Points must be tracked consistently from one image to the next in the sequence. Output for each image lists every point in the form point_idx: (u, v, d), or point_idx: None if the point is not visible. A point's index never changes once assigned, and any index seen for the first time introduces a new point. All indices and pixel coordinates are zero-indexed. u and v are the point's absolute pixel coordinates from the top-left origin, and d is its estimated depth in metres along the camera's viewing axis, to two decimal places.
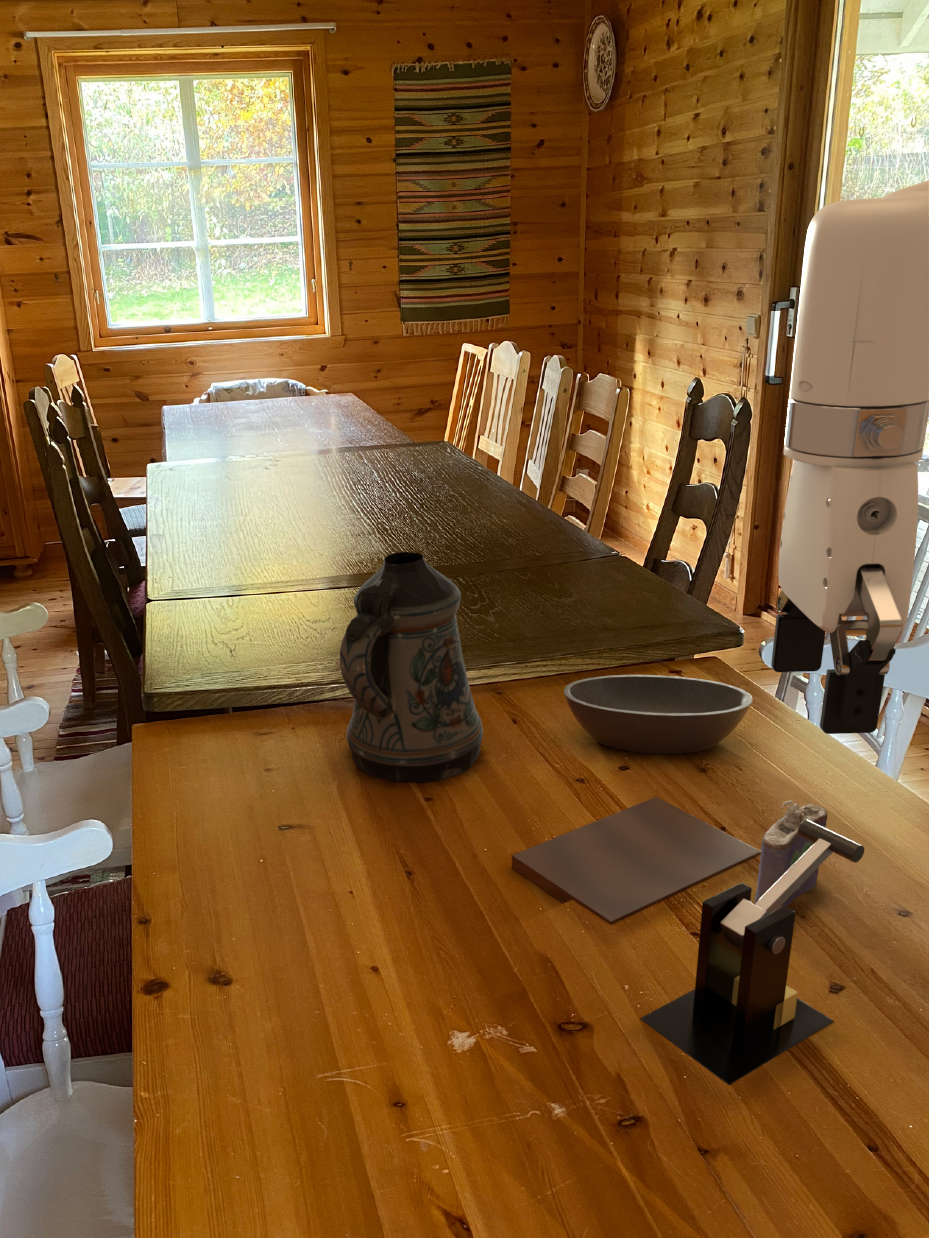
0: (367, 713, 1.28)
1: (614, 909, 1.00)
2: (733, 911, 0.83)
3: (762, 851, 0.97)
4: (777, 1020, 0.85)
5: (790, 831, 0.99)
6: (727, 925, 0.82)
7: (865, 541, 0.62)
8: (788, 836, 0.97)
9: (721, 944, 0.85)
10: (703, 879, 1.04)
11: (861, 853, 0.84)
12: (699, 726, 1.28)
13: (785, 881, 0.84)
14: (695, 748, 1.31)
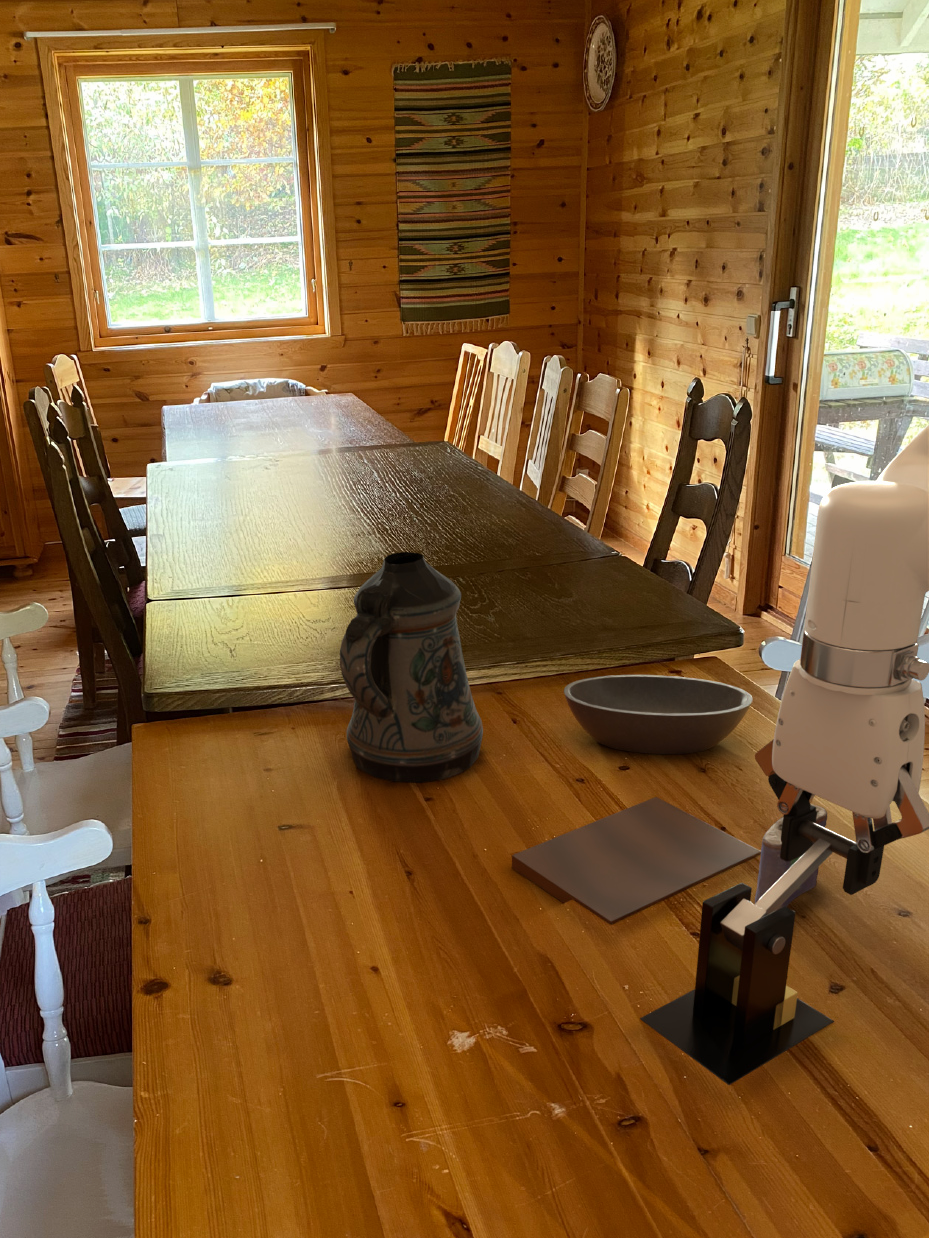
0: (367, 713, 1.28)
1: (614, 909, 1.00)
2: (733, 911, 0.83)
3: (762, 851, 0.97)
4: (777, 1020, 0.85)
5: None
6: (727, 925, 0.82)
7: (903, 748, 0.78)
8: None
9: (721, 944, 0.85)
10: (703, 879, 1.04)
11: None
12: (699, 726, 1.28)
13: (785, 881, 0.84)
14: (695, 748, 1.31)
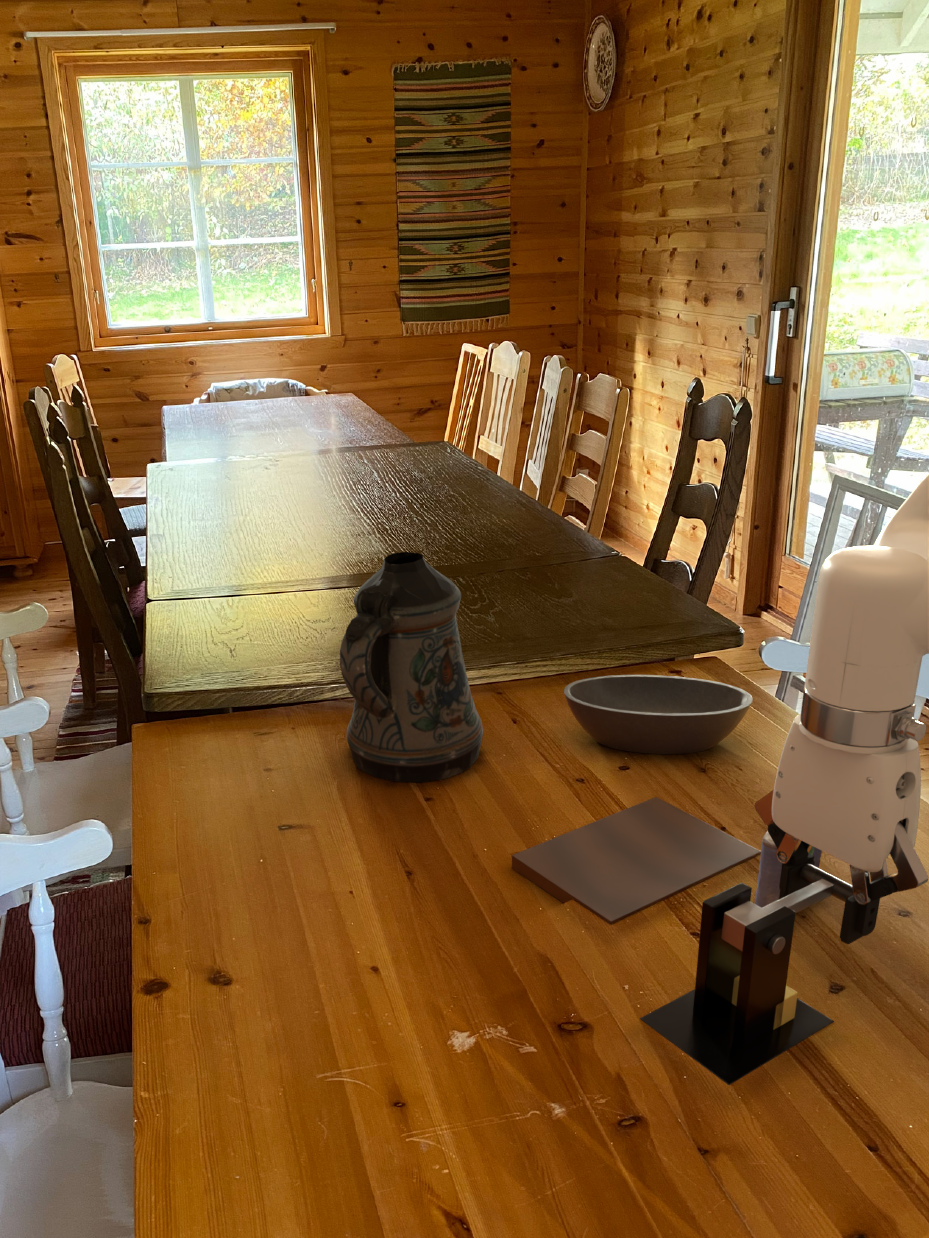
0: (367, 713, 1.28)
1: (614, 909, 1.00)
2: (738, 907, 0.83)
3: (762, 851, 0.97)
4: (777, 1020, 0.85)
5: None
6: (732, 916, 0.82)
7: (900, 805, 0.80)
8: None
9: (721, 944, 0.85)
10: (703, 879, 1.04)
11: None
12: (699, 726, 1.28)
13: (788, 900, 0.85)
14: (695, 748, 1.31)
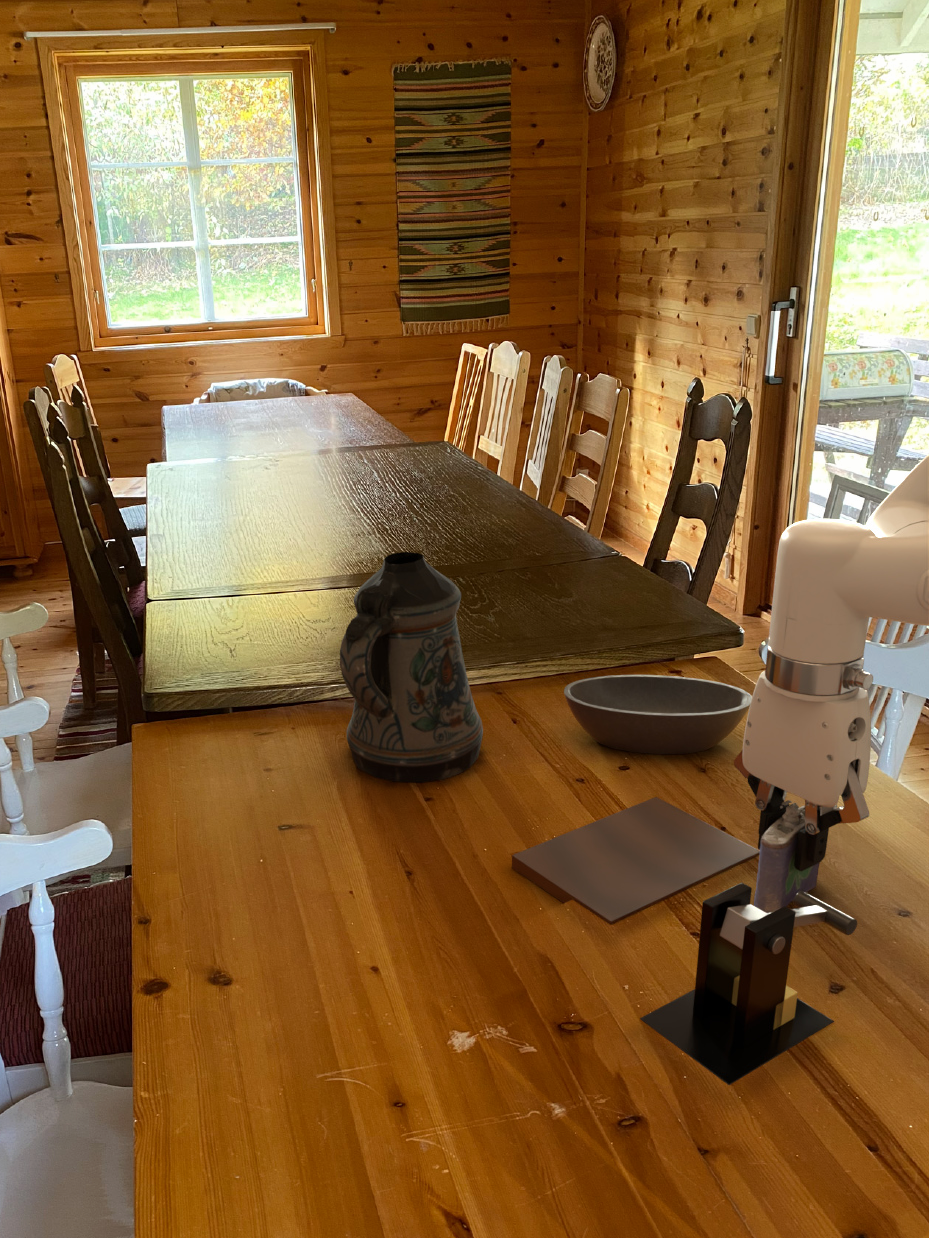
0: (367, 713, 1.28)
1: (614, 909, 1.00)
2: (741, 906, 0.83)
3: (761, 851, 0.97)
4: (777, 1020, 0.85)
5: (789, 831, 0.99)
6: (735, 911, 0.82)
7: (852, 747, 0.91)
8: (787, 836, 0.97)
9: (721, 944, 0.85)
10: (703, 879, 1.04)
11: (853, 929, 0.87)
12: (699, 726, 1.28)
13: None
14: (695, 748, 1.31)
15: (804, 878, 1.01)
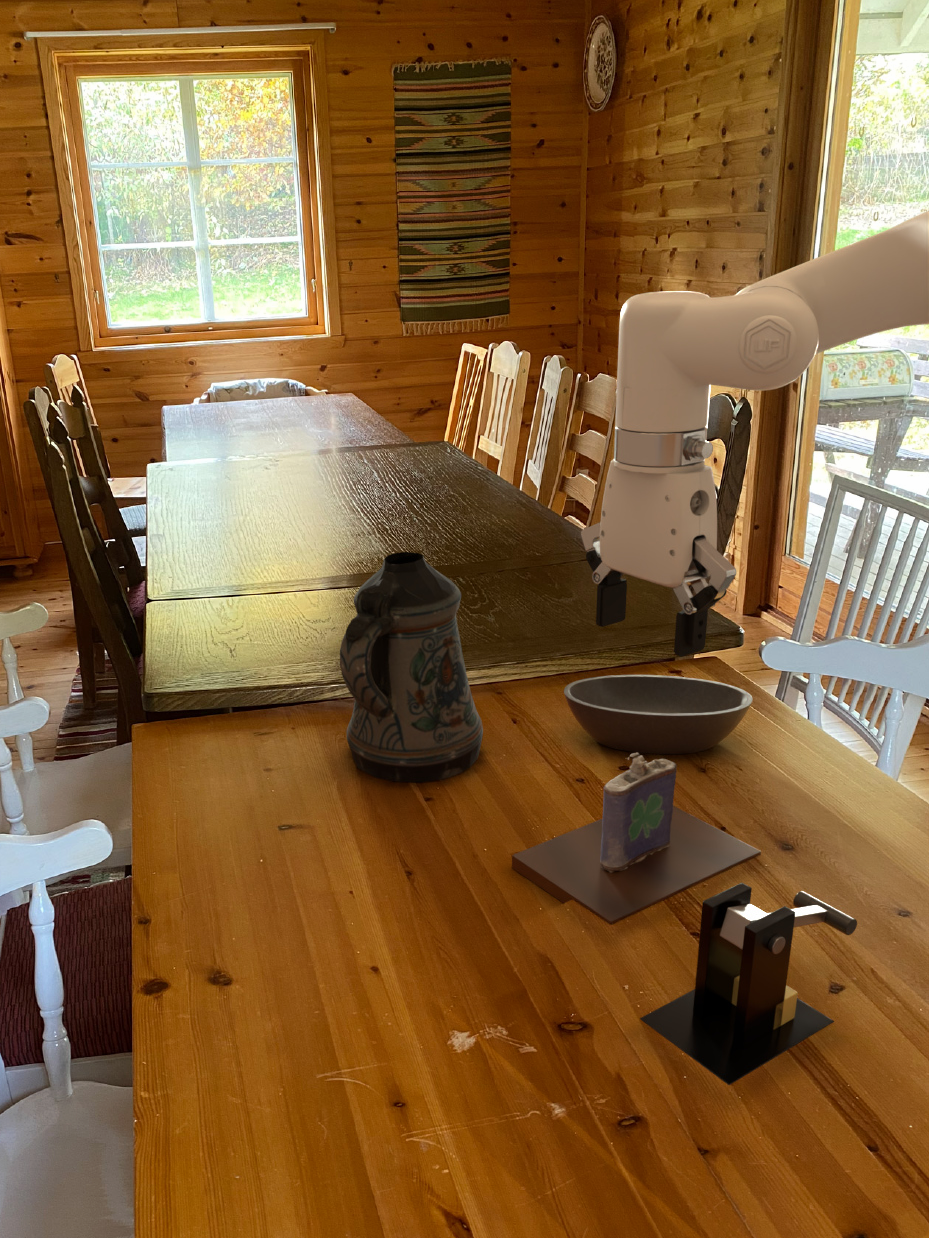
0: (367, 713, 1.28)
1: (614, 909, 1.00)
2: (741, 906, 0.83)
3: None
4: (777, 1020, 0.85)
5: (635, 781, 1.05)
6: (735, 911, 0.82)
7: (695, 520, 0.91)
8: (628, 785, 1.04)
9: (721, 944, 0.85)
10: (703, 879, 1.04)
11: (853, 929, 0.87)
12: (699, 726, 1.28)
13: None
14: (695, 748, 1.31)
15: (654, 827, 1.08)
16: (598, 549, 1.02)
